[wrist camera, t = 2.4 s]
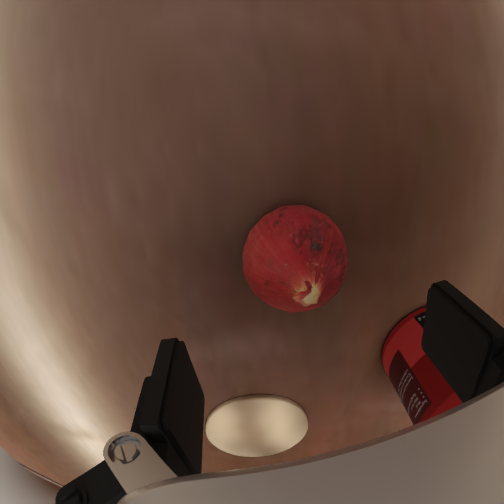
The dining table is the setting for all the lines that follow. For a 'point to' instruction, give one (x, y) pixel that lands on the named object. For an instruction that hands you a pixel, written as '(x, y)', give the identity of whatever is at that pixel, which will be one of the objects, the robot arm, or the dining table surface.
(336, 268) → the onion
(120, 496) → the robot arm
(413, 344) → the canned food
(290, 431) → the cork coaster
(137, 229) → the dining table surface
